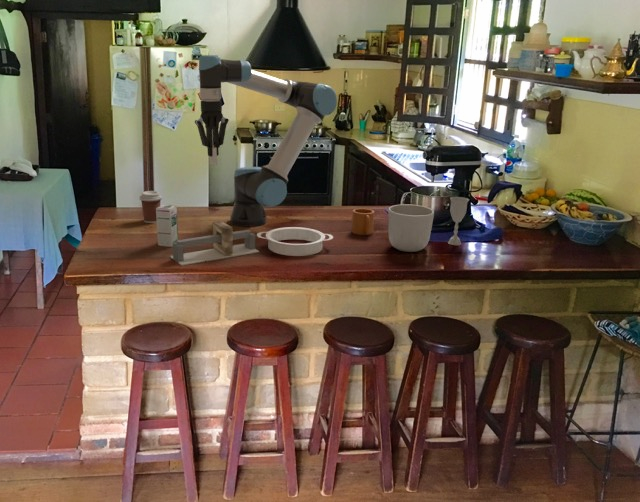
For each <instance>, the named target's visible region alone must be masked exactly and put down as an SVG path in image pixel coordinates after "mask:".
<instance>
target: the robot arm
mask: <svg viewBox="0 0 640 502" xmlns="http://www.w3.org/2000/svg"><path fill="white" fill-rule="evenodd" d="M198 70H199V71H198V73H199V75H198V76H199V92H200V93H199V97H200V100H201V101H200V112H201V114H200V117H199V118H198V119H196V120H194V123H195V125H196V126H197V130H198V133H199V137H200V141H201V145H202V146H204V147H206V148H207V156H208V157H209V165H211V166H218V156H219V148H220V146H223V145H224V142H225V135H226V129H227V125H228V123H229V121H230V120H229V119H228V118H226V117H225V116H224V114H223V112H222V111H223V103H222V101H221V99H222V83H229V84H231V85H234V86H238V87H241V88H243V89H248V90H251V91H253V92H257V93H260V94H263V95H265V96H269V97H272V98H276V99H278V101H279V102H280V103H283V104H286V105H288V106H291V107H293V108H295V109H296V115H295V117H294V119H293V120H292V121H291V124H290V126H289V128H288V129H287V131H286V133H285V135H284V136H283V138H282V140H281V142H280V143H279V145H278V147H277V149H276V150H275V153H274V154H273V156H272V157H271V159H270V161H269V163H268V164H266V165H262V166H245V167H237V168H236V169H235V170H234V175H233V179H234V184H233V185H234V189H233V190H234V192H233V193H234V204H233V207H232V210H231V213H230V223H231V224H232V225H236V226H241V227H258V226H262V225H265V224H266V223H267V214H266V211H265V207H269V208H271V207H277V206H279V205H280V204H282V202H284V200H285V198H286V197H287V194H288V190H287V188H288V187H287V184H288V182H289V178H288V175H289V172H290V171H291V169H292V167H293V165H294V164H295V162H296V160H297V158H298V157H299V155H300V154H301V151H302V149H303V148H304V146H305V144H306V142H307V140H308V139H309V137H310V135H311V134H312V132H313V130H314V129H315V127H316V126H317V124H318V125H319V124H321V123H322V122H323V121H324V119H325V117H326V116H329V115H331V114H333V113H334V112H335V110H336V108H337V105H338V104H337V103H338V98H337V93H336V91H335V90H334V88H333V87H331V86H330V85H328V84H327V85H326V84H324V83H315V82H309V81H297V80H292V79H289V78H285V79H280V78H278V77H275V76H271V75H269V74H265V73H263V72H260V71H257V70H254V69H252V65H251V63H250V62H249V61H247V60H242V59H240V60H236V59H235V60H233V59H223V58H221V56H220V55H217V54H202V55H200V56H199V58H198ZM204 125H205V126H204ZM264 206H265V207H264Z"/></svg>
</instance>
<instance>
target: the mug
mask: <svg viewBox="0 0 640 502" xmlns="http://www.w3.org/2000/svg"><path fill="white" fill-rule="evenodd" d="M374 223H375V210H373V209H370V208H354V209H352V218H351V232H352V234H354V235H359V236H369V235H372V234H373V233H374V225H375V224H374Z"/></svg>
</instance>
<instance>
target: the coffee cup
mask: <svg viewBox="0 0 640 502" xmlns="http://www.w3.org/2000/svg"><path fill="white" fill-rule="evenodd" d="M139 200H140V201H141V208H142V217H143V222H144V223H147V224H155V223H156V224H157V218H156V208H158V207H160V206H161V201H162V200H163V196H162V195H161V194H160V191H157V190H145V191H143V192H142V193H141V195H140V196H139Z"/></svg>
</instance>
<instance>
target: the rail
mask: <svg viewBox="0 0 640 502" xmlns="http://www.w3.org/2000/svg"><path fill="white" fill-rule="evenodd" d="M241 239H244V243H239V244H233V253H232V254H226V255H225V254H223V253H222V252H220V251H219V250H217V249H215V248H209V249H204V250H199V251H192V252H185V253H184V248H190V247H196V246H197V247H198V246H203V245H209V244H213V243H216V242H222V234H216V235H213V234H211V235H204V236H199V237H191V238H184V239H178V240H177V243H173V247H172V255H170V256H169V258H171V259H172V260H173V261H174V262H176V263H177V264H179V266H181V267H183V266H188V265H194V264H201V263H205V261H206V262H210V261H216V260H222V259H228V258H232V257H239V256H245V255H246V256H247V255H251V254H256V253H259V252H260V251H259V250H258V249H256V234H255V233H253V232H252V230H251V229H243V230H238V231H237V230H236V231H233V241H234V240H241Z"/></svg>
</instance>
